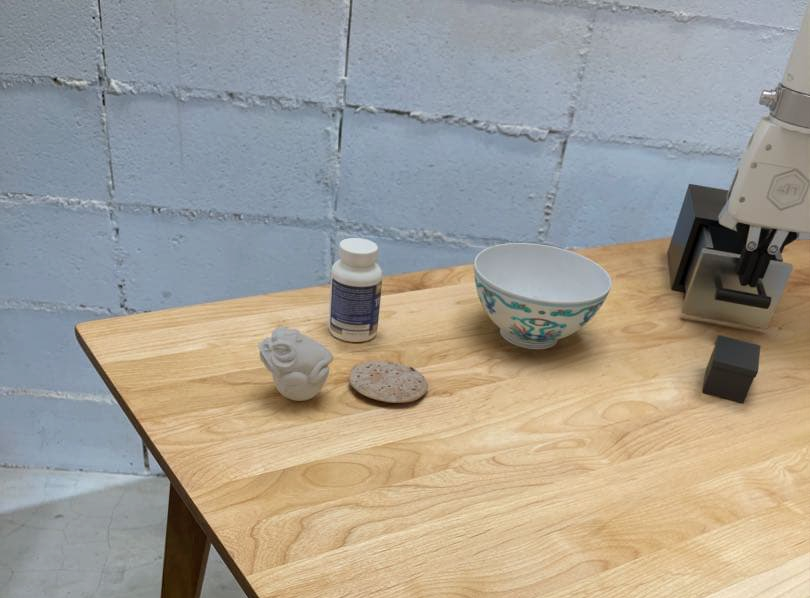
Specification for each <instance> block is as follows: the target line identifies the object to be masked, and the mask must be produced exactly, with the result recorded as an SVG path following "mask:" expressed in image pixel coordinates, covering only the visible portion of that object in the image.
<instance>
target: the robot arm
mask: <svg viewBox="0 0 810 598" xmlns="http://www.w3.org/2000/svg"><path fill="white" fill-rule="evenodd" d="M758 100H759V101H758V104H759V105H761V106H765V107H766V108H768V109H769V111H770V112H769V113H768V114H763V115H762V116H761V118H760V119H759V122H758V123H757V125H756V127H755V128H754V131H753V132H752V134H751V136H750V139H749V140H748V141H747V145H746V146H745V147H746V148H745V149H744V151H743V154H742V155H741V158H740V161H739V163H738V164H737V167H736V170H735V172H734V174H733V177H732V180H731V183H730V184H729V188H728V190H729V191H728V194H727V199H726V204H725V206H724V207H723V209H722V211H721V212H720V214H719V216H718V220H719V223H720V224H721V225H723V226H725V227H727V228H729V229H732V230H735V231H737V232H738V234H739V236H740V238H741V239H742V241H743V243H744V247H743V250H742V253H741V256H740V258H739V261H738V264H737V267H736V274H737V275H738V277H739V281H740V285H742V286H746V285H749V286H750V287H754V288H755V287H756V284H757V282H758V279H759V278H761V279H763V278H764V276H765V273H766V271H767V268H768V266H769V263H770V260H771V258H772V255H773V254H776V253H777V252H778V251H779V249H781V248H783V247H784V246H785V247H786V246H788V245H790V244H791V243H793V242H794V241H810V0H808V3H807V6H806V8H805V11H804V14H803V17H802V20H801V23H800V26H799V29H798V32H797V35H796V37H795V40H794V43H793V45H792V48H791V51H790V54H789V58H788V60H787V63H786V66H785V69H784V72H783V75H782V78H781V81H780V82H778V83H777V86H775V88H774V89H770V90H769V89H763V90H762V91H761V94H760V96H759V99H758ZM761 227H767V228H771V229H770V231H769V233H768V234H767V236H766V238H765V240H764V241H762V244H761V243H760V244H758V241H759V236H760V232H761ZM785 247H784V248H785Z"/></svg>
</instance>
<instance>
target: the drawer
mask: <svg viewBox="0 0 810 598" xmlns="http://www.w3.org/2000/svg"><path fill="white" fill-rule="evenodd" d="M765 238H766V235H760V236H759V241H758V244H760V243H761V244H762V241H764V240H765ZM743 247H744V243H743V241H742V239H741V238H740V236H739V234H738V232H737V231H735V230H731V229H725V228H720V227H714V226H708V225H702V224H699V227H698V230H697V233H696V236H695V239H694V242H693V245H692V248H691V251H690V254H689V257H688V260H687V263H686V266H685V269H684V272H683V277H684V284H685V291H686V292H685V297H684V299H683V303H682V306H681V314H684V315H690V316H695V317H699V318H705V319H710V320H711V319H712V320H716V321H721V322H727V323H734V324H739V325H743V326H750V327H754V328H761V329H765V330H767V329H769V326H770V323H771V321H772V320H773V317H774V314H775V311H776V309H777V307H778V304H779V302H780V300H781V297H782V296H783V294H784V290H785V288H786V286H787V284H788V281H789V278H790V276H791V274H792V271H793V269H794V265H793V264H792V263H790V262H785V261H784V258H783V255H782V254H781V252H780V250H779V251H778V252H777V253H776V254H773V255H772V258H771V260H770V263H769V266H768V268H767V271H766V273H765V276H764V278H763V279H761V278H759V279H758V282H757V284H756V287H755V288H754V287H750V286H749V285H746V286H742V285H740V281H739V277H738V275H737V274H736V267H737V264H738V261H739V258H740V256H741V253H742V250H743Z"/></svg>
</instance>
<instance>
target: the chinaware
mask: <svg viewBox="0 0 810 598" xmlns="http://www.w3.org/2000/svg"><path fill="white" fill-rule="evenodd" d="M473 274H474V275H473V276H474V283H475V289H476V293H477V296H478V300H479V302H480V304H481V306H482V309H483V310H484V312H485V313H486V315H487V316H488V317H489V319H490V321H492V323H494V325H496V326H497V327H498V328H499V332H500V335H501V337H502V338H503V339H504V340H505V341H507V342H508V343H510V344H512V345H514V346H516V347H520V348H522V349H528V350H546V349H549V348H552V347H554V346H555V345H556V344H557V343H558V341H559V340H561V339H564V338H566V337H568V336H570V335H573V334H575V333H576V332H578V331H579V330H580V329H582V328H583V327H584V326H586V325H587V324H588V323H589V322H590V321H591V320H592V319H593V318H594V317H595V316H596V314H597V313H598V312H599V310H600V309H601V307H602V306H603V304H604V302H605V301H606V299H607V297H608V296H609V293H610V291H611V288H612V284H613V283H612V279H611V277H610V274H609V273H608V272H607V270H605V269H604V268H603V267H602V266H601V265H600V264H598V263H597V262H595V261H594V260H592V259H590V258H588V257H586V256H585V255H582V254H580V253H577V252H574V251H571V250H568V249H566V248H565V249H564V248H562V247H556V246H552V245H547V244H540V243H530V242H509V243H501V244H496V245H495V244H494V245H491V246H489V247H486V248H484V249H483V250H481V251H480V252H479V253H478V254H477V255H476V256H475V258H474V262H473Z"/></svg>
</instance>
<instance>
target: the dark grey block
mask: <svg viewBox="0 0 810 598" xmlns="http://www.w3.org/2000/svg"><path fill="white" fill-rule="evenodd" d="M760 353H761V345H760V344H756V343H752V342H749V341H744V340H740V339H738V338H737V339H736V338H733V337H728V336H726V335H725V336H724V335H721V334H717V336H716V339H715V342H714V347H713V349H712V352H711V355H710V357H709V360H708V363H707V365H706V369H705V373H704V379H703V385H702V391H701V393H703V394H707V395H711V396H713V397H718V398H721V399H726V400H729V401H733V402H737V403H740V404H744V403H745V400H746V398H747V395H748V394H749V391H750V389H751V386H752V384H753V382H754V379H755V378H756V377H757V376H758V373H759V365H760Z"/></svg>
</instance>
